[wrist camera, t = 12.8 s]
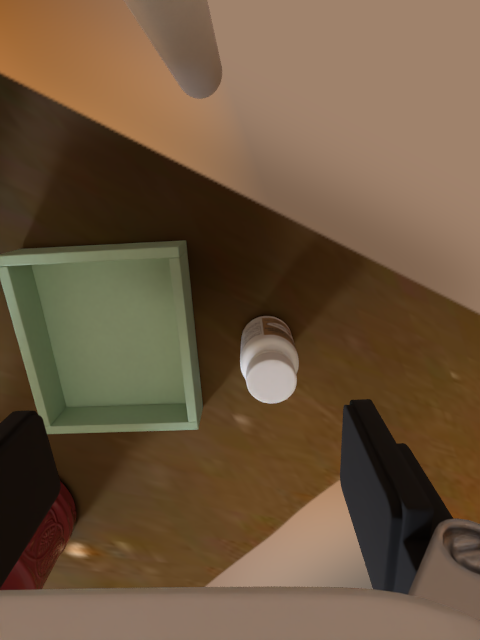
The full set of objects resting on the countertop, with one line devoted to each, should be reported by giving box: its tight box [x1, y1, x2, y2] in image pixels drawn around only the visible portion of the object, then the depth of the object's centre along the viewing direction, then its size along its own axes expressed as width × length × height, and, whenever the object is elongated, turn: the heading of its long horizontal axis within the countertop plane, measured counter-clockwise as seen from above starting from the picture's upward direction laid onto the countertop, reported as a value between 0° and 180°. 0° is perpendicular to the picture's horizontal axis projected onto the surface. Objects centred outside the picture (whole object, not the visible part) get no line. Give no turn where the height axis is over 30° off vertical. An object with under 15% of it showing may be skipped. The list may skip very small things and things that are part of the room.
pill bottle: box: [240, 316, 299, 403], centre depth 28 cm, size 4×4×8 cm
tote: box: [0, 240, 203, 434], centre depth 30 cm, size 16×14×3 cm
